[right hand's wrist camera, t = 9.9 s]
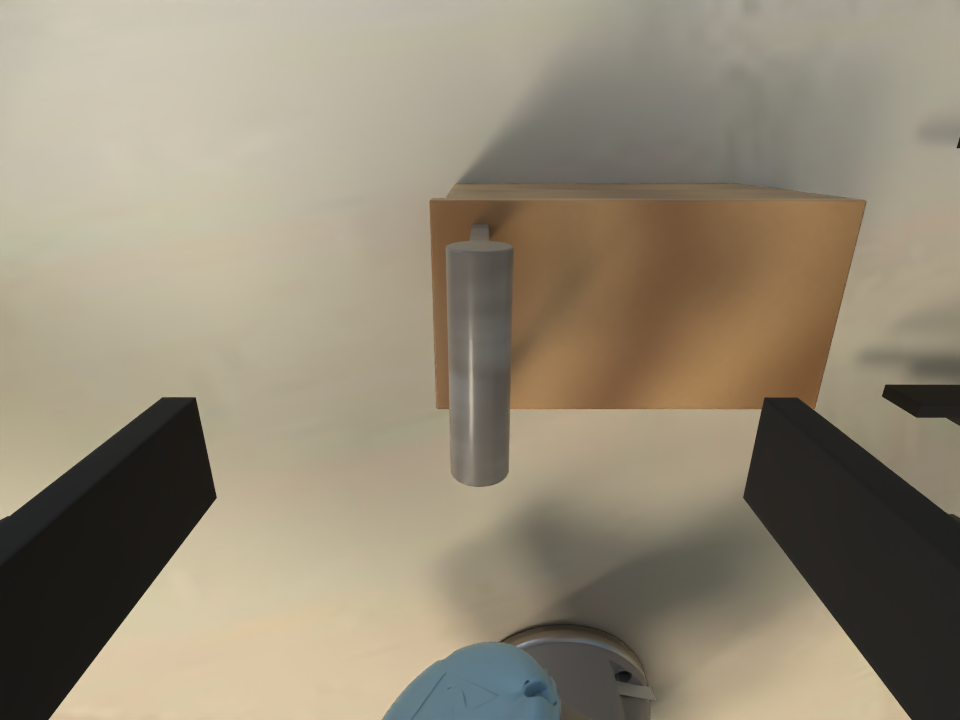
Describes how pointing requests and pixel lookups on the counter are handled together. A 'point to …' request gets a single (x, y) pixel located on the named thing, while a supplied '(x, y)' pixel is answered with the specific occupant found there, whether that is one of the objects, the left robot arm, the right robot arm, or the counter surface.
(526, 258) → the lid
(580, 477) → the counter surface
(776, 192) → the chest
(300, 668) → the counter surface
